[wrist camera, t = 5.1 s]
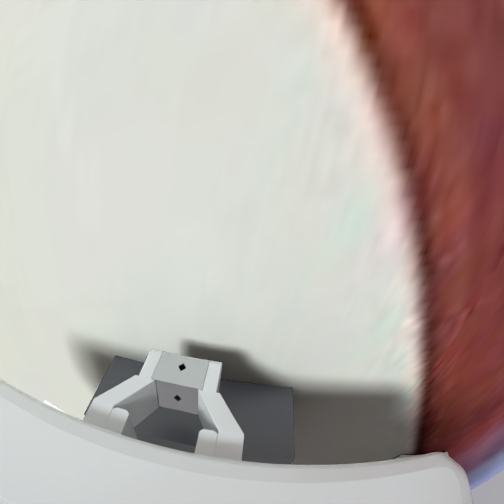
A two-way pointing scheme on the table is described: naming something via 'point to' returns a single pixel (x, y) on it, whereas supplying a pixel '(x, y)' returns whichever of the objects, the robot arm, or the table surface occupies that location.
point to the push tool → (240, 405)
